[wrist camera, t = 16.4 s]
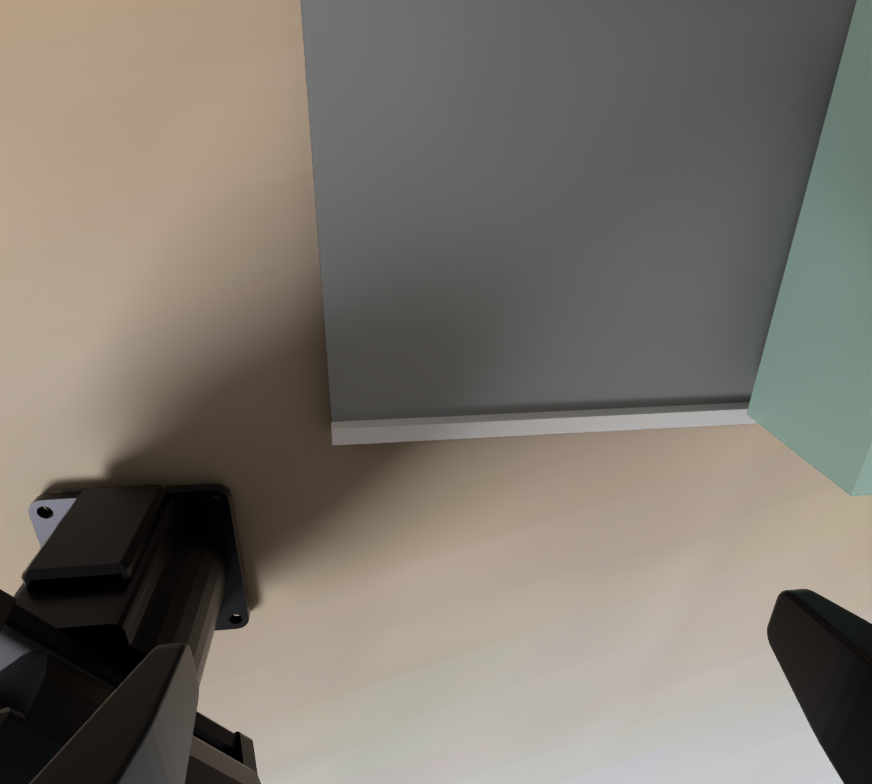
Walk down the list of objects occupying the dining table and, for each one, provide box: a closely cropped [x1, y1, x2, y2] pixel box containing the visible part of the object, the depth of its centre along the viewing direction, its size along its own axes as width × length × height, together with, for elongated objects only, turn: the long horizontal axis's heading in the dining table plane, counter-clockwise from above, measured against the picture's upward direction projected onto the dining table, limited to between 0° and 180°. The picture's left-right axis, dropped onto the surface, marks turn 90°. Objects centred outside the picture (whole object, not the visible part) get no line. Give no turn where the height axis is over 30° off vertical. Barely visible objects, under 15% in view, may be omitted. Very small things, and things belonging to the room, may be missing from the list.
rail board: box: [301, 0, 857, 446], centre depth 18 cm, size 14×30×3 cm, turn 90°
